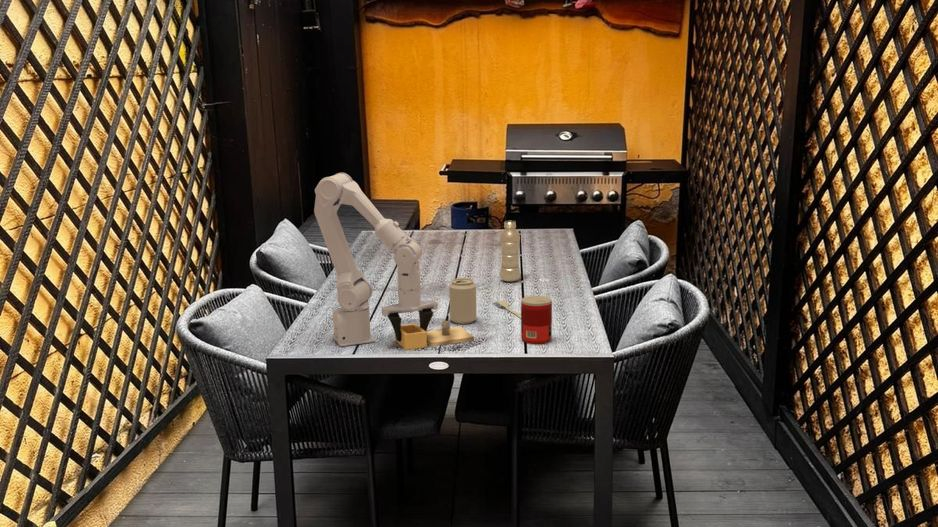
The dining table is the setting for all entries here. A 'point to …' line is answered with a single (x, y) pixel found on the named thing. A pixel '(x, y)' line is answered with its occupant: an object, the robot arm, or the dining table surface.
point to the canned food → (536, 319)
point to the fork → (505, 304)
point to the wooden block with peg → (448, 335)
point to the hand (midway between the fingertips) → (410, 338)
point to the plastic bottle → (510, 252)
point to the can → (462, 300)
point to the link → (412, 337)
